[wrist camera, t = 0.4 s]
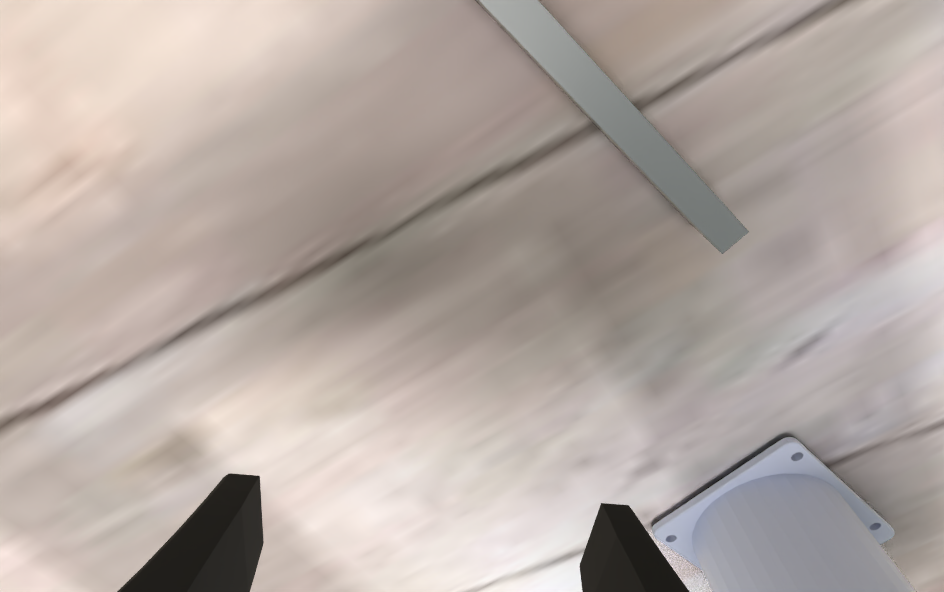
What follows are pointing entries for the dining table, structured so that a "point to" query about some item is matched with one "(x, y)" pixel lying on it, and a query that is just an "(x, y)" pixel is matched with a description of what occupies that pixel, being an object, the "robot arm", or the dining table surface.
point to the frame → (615, 117)
